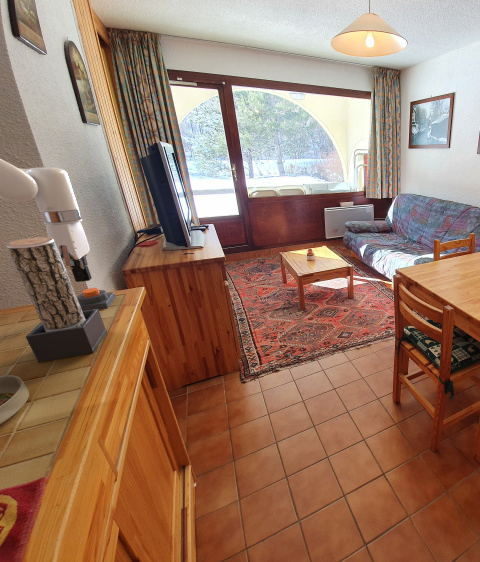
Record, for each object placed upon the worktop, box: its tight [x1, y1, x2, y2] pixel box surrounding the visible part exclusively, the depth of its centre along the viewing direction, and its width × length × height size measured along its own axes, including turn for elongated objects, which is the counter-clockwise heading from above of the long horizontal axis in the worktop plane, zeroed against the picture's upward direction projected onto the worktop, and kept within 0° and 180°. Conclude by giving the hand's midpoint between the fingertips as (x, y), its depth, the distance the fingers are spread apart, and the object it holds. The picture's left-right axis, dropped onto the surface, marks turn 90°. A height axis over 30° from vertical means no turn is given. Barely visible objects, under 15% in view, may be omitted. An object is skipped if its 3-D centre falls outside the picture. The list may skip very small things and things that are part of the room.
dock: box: [25, 309, 107, 364], centre depth 72 cm, size 10×10×7 cm
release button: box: [81, 287, 100, 298], centre depth 91 cm, size 4×4×2 cm
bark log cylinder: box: [5, 236, 86, 332], centre depth 68 cm, size 7×7×25 cm
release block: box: [76, 289, 117, 311], centre depth 92 cm, size 8×8×4 cm
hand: (84, 280), depth 89 cm, fingers closed
